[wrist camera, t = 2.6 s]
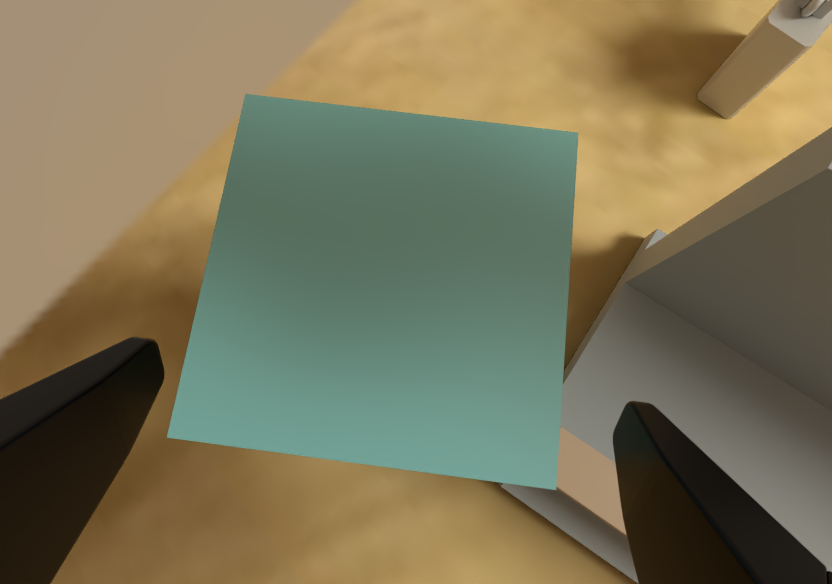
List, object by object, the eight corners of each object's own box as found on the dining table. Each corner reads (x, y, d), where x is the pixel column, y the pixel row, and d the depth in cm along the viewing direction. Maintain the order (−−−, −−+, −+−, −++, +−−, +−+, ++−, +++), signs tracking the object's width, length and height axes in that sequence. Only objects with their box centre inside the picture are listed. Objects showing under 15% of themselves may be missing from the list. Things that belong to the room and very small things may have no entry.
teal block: (459, 428, 18) (556, 489, 6) (336, 412, 18) (166, 437, 6) (471, 307, 19) (578, 132, 7) (355, 293, 19) (245, 93, 7)
